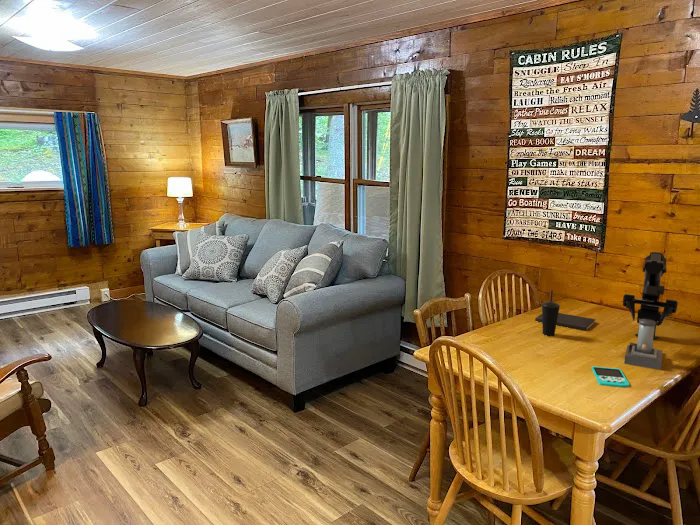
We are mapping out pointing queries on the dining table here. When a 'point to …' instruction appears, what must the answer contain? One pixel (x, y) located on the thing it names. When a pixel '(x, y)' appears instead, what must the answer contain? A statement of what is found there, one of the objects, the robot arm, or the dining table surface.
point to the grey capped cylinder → (645, 336)
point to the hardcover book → (571, 321)
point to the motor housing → (643, 357)
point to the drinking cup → (549, 316)
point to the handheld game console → (610, 377)
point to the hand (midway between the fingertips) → (647, 321)
